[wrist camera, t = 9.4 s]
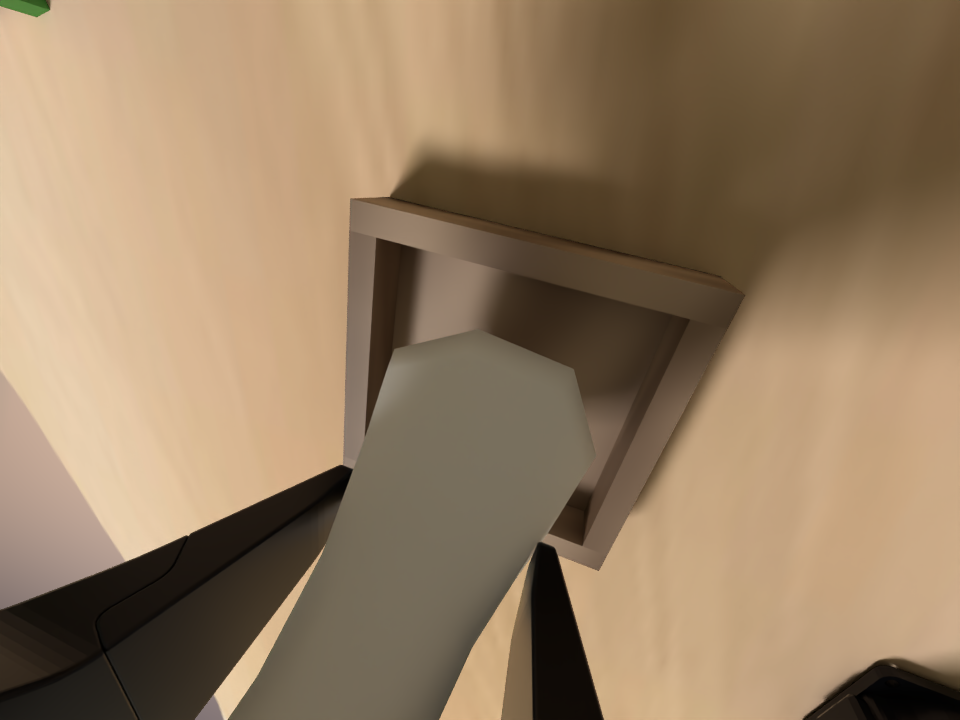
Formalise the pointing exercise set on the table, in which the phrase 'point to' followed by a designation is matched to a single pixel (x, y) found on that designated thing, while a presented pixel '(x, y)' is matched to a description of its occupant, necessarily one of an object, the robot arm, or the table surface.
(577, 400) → the flask
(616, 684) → the table surface
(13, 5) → the hardback book
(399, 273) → the tray
